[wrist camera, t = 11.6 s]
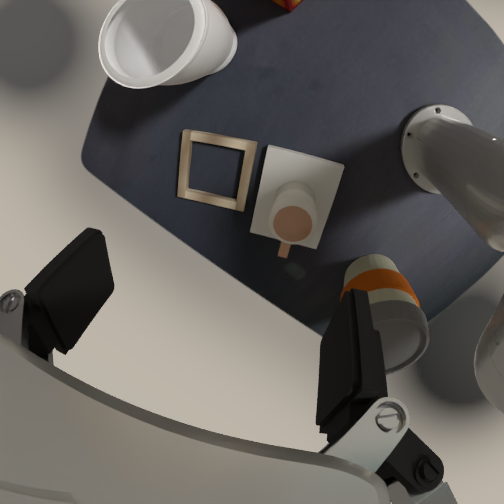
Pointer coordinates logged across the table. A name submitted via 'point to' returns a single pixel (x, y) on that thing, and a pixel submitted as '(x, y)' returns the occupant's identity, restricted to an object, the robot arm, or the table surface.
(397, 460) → the robot arm
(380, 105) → the table surface
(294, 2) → the baking soda box
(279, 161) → the mat
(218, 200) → the wooden square frame
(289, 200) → the cylinder with brown end
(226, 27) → the jar
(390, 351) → the reusable coffee cup
